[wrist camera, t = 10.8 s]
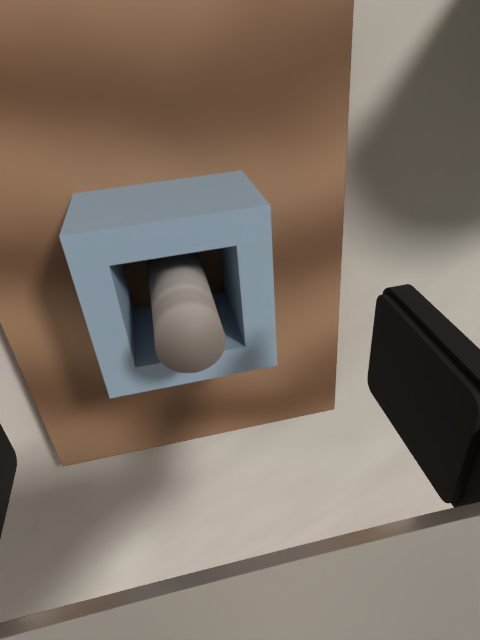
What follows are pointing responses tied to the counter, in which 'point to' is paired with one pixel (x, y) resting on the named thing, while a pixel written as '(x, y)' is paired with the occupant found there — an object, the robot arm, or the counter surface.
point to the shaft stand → (162, 165)
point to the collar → (162, 241)
